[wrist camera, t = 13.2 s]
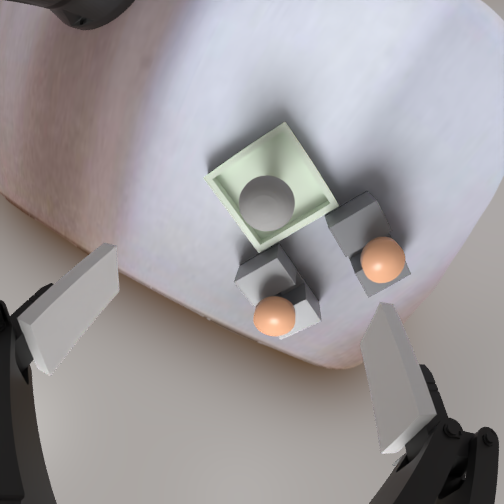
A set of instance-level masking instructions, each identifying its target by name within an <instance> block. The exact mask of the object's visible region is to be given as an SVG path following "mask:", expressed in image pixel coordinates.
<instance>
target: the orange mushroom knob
mask: <svg viewBox="0 0 504 504" xmlns="http://www.w3.org/2000/svg"><path fill="white" fill-rule="evenodd" d="M360 262H361V266H362V268H363V271H364V273H365V275H366V276H367V278H368V279H370V280H371V281H373V282H376V283H386V282H389V281H392V280H393V279H395V278H396V277H397V276H398V275H399V274H400V273H401V272H402V270H403V268H404V265H405V254H404V252H403V250H402V249H401V247H400V246H399V245H398V243H397V242H396V241H395V240H393V239H392V238H389V237H378V238H375V239H373V240H371V241H370V242H369V243H367V244H366V246H365V247H364V249H363V250H362V253H361V257H360Z"/></svg>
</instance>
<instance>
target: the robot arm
mask: <svg viewBox="0 0 504 504" xmlns="http://www.w3.org/2000/svg"><path fill="white" fill-rule="evenodd" d="M7 1H13V2H19V3H24V4H30V5H35V6H39V7H44V8H48V9H50V10H51V11H52V12H53V13H54V14H55V15H56V16H57V17H58V18H59V19H60V20H61V21H62V22H63V23H65V24H66V25H68V26H70V27H73V28H77V29H81V30H90V29H95V28H98V27H101V26H103V25H105V24H107V23H109V22H111V21H112V20H114V19H115V18H117V17H118V16H119V15H120V14H122V13H123V12H124V11H125V10H126V9H127V8H128V7H129V6H130V5H131V4H132V3H133V2H134V0H7ZM118 292H119V280H118V264H117V246H116V245H112V244H108V243H103V244H102V245H101V246H99V247H98V248H97V249H96V250H94V251H93V252H92V253H91V254H89V255H88V256H87V257H86V258H84V259H83V260H82V261H81V262H80V263H78V264H77V265H76V266H75V267H74V268H73V269H71V270H70V271H69V272H68V273H67V274H65V275H64V276H63V277H62V278H61V279H59V280H58V281H57V282H56V283H55V284H52V283H50V284H48V285H46V286H44V287H42V288H41V289H40V290H38V291H37V292H36V293H35V295H33V296H32V297H31V298H29V300H27V301H26V302H25V303H24V304H23V305H22V306H21V307H20V308H18V309H17V310H16V311H15V312H14V313H13V314H12V315H11V316H9V313H8V310H7V307H6V304H5V303H4V302H3V301H1V300H0V504H57V503H56V500H55V497H54V494H53V491H52V488H51V484H50V481H49V477H48V473H47V470H46V465H45V462H44V457H43V453H42V448H41V443H40V438H39V432H38V426H37V420H36V413H35V405H34V396H33V385H32V371H31V367H30V363H31V362H32V361H33V360H34V362H35V364H36V366H37V368H38V369H39V370H40V371H42V372H44V373H46V374H48V375H50V376H51V375H52V374H53V372H54V371H55V370H56V368H57V367H58V366H59V365H60V363H61V362H62V360H63V359H64V358H65V357H66V355H67V354H68V353H69V352H70V350H71V349H72V348H73V346H74V345H75V344H76V343H77V341H78V340H79V339H80V338H81V336H82V335H83V334H84V333H85V332H86V330H87V329H88V328H89V327H90V325H91V324H92V323H93V322H94V320H95V319H96V318H97V317H98V316H99V315H100V313H101V312H102V311H103V310H104V308H105V307H106V306H107V305H108V304H109V303H110V301H111V300H112V299H113V298H114V297H115V296H116V295H117V293H118ZM360 347H361V351H362V355H363V360H364V364H365V369H366V373H367V378H368V383H369V388H370V393H371V398H372V403H373V409H374V414H375V420H376V426H377V432H378V439H379V445H380V452H381V454H382V453H397V452H398V451H399V450H400V449H401V448H403V447H404V446H405V447H406V453H405V454H404V455H403V456H402V457H400V458H399V459H398V460H397V461H396V462H395V463H394V464H393V466H395V465H396V464H397V463H398V464H397V466H396V467H395V468H394V470H393V471H392V473H391V474H390V476H389V477H388V479H387V480H386V482H385V483H384V484H383V486H382V487H381V488H380V490H379V491H378V492H377V494H376V495H375V496H374V498H373V499H372V500H371V502H370V503H369V504H494V502H495V494H496V485H497V474H498V456H499V441H498V437H497V435H496V433H495V432H494V431H493V430H492V429H491V428H489V427H483V428H481V429H480V430H479V431H478V432H476V433H475V434H474V433H469V432H465V431H463V429H462V427H461V426H460V424H459V423H458V422H457V421H456V420H454V419H452V418H448V416H447V413H446V410H445V407H444V405H443V401H442V399H441V396H440V393H439V392H438V388H437V386H436V384H435V380H434V378H433V375H432V373H431V372H430V371H429V369H428V368H427V367H426V366H425V365H420V364H418V361H417V358H416V356H415V353H414V351H413V348H412V346H411V344H410V341H409V338H408V336H407V334H406V332H405V329H404V327H403V325H402V322H401V320H400V318H399V315H398V313H397V311H396V309H395V307H394V305H393V304H388V303H383V302H380V304H379V306H378V308H377V310H376V312H375V314H374V316H373V318H372V321H371V323H370V325H369V327H368V329H367V331H366V333H365V335H364V337H363V339H362V341H361V343H360ZM465 475H466V478H465Z"/></svg>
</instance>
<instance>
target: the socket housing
mask: <svg viewBox="0 0 504 504" xmlns="http://www.w3.org/2000/svg"><path fill="white" fill-rule="evenodd" d="M325 218H326V221H327V224H328V227H329V229H330V231H331V233H332V234H333V236H334V238H335V239H336V241H337V243H338V244H339V246H340V248H341V250H342V251H343V253H344V255H345V256H346V257H347V256H348V257H349V259H350V261H351V264H352V266H353V269H354V272H355V274H356V276H357V278H358V280H359V281H360V283H361V285H362V287H363V289H364V290H365V292H366V294H367V296H368V298H369V297H370V296H372V295H374V294H376V293H378V292H380V291H382V290H383V289H385V288H387V287H389V286H391V285H392V284H394V283H396V282H398V281H400V280H401V279H403V278H405V277H407V276H408V275H410V274H411V273H410V271H409V268H408V266H407V263H406V261H405V265H404V268H403V270H402V272H401V273H400V274H399V275H398V276H397V277H396V278H395V279H393V280H392V281H389V282H386V283H376V282H373V281H371V280H370V279H368V278H367V276H366V275H365V273H364V271H363V268H362V266H361V262H360V257H361V253H362V250H363V249H364V247H365V246H366V244H367V243H369V242H370V241H371V240H373V239H375V238H378V237H389V238H392V237H391V236H390V234H389V232H391V231H392V230H391V228H390V226H389V223H388V221H387V219H386V217H385V215H384V213H383V211H382V209H381V207H380V205H379V203H378V201H377V200H376V199H375V198H374V197H373V196H372V195H371V194H370V193H369V192H368V191H367V192H365V193H363V194H361V195H360V196H358V197H356V198H355V199H353V200H351V201H350V202H348V203H346V204H344V205H343V206H341V207H339V208H338V209H336V210H334V211H333V212H331V213H329V214H327V215H326V216H325ZM392 239H393V238H392ZM234 283H235V284H236V286H237V287H238V288H239V289H240V291H241V292H242V293H243V294H244V296H245V297H246V298H247V299H248V301H249V302H250V303H251V304H252V306H254V305H256V304H258V303H259V302H260V301H261V300H262V299H264V298H267V297H271V296H274V295H276V294H278V293H280V292H281V294H282V297H283V298H285V299H287V300H288V301H290V302H291V303H292V304H293V306H294V308H295V325H294V327H293V329H292V330H291V331H290V332H288V333H287V334H284V335H281V336H278V337H279V338H280V340H282V339H284V338H286V337H289V336H291V335H293V334H295V333H297V332H300V331H302V330H304V329H306V328H308V327H310V326H313V325H315V324H317V323H319V322H321V313H320V305H319V301H318V300H317V298H316V297H315V295H314V294H313V292H312V291H311V289H310V288H309V287H308V285H307V284H306V282H305V281H304V279H303V278H302V276H301V275H300V273H299V272H298V270H297V269H296V267H295V266H294V265H293V263H292V262H291V260H290V259H289V257H288V256H287V254H286V253H285V251H284V250H283V249H282V247H281V246H280V244H279V243H278V244H276V245H274V246H273V247H271V248H269V249H267V250H266V251H264V252H262V253H261V254H259V255H257V256H255V257H254V258H252V259H250V260H249V261H247V262H245V263H243V264H242V265H240V266H239V269H238V272H237V275H236V277H235V280H234Z"/></svg>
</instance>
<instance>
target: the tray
mask: <svg viewBox="0 0 504 504" xmlns="http://www.w3.org/2000/svg"><path fill="white" fill-rule="evenodd" d="M265 175H268V176H274V177H277V178H279V179H281V180H283V181H284V182H285V183H286V184H288V186H289V187H290V188H291V190H292V192H293V195H294V199H295V207H294V212H293V215H292V217H291V219H290V220H289V221H288V223H286V224H285V225H284V226H283V227H281V228H279V229H277V230H273V231H260V230H257V229H255V228H253V227H251V226H250V225H249V224H248V223H247V222H246V221H245V220H244V219H243V217H242V215H241V213H240V210H239V197H240V194H241V191H242V190H243V188H244V187H245V185H246V184H247V183H248V182H249V181H251V180H252V179H254V178H256V177H259V176H265ZM204 180H205V181H206V182H207V184H208V185H209V186H210V188H211V189H212V190H213V192H214V193H215V194H216V196H217V197H218V199H219V200H220V201H221V203H222V204H223V205H224V207H225V208H226V209H227V211H228V212H229V213H230V215H231V216H232V218H233V219H234V220H235V222H236V223H237V224H238V226H239V227H240V228H241V230H242V231H243V233H244V234H245V235H246V237H247V238H248V239H249V241H250V242H251V243H252V245H253V246H254V248H255V249H256V250H257V252H258V253H260V252H262V251H263V250H265V249H267V248H268V247H270V246H272V245H274V244H275V243H277V242H279V241H280V240H282V239H284V238H286V237H287V236H289V235H291V234H292V233H294V232H296V231H298V230H299V229H301V228H303V227H304V226H306V225H308V224H309V223H311V222H313V221H315V220H316V219H318V218H320V217H321V216H323V215H325V214H327V213H328V212H330V211H332V210H333V209H335V208H337V207H338V206H339V204H338V203H337V201H336V199H335V198H334V196H333V194H332V193H331V191H330V189H329V188H328V186H327V184H326V183H325V181H324V180H323V178H322V176H321V175H320V173H319V172H318V170H317V168H316V167H315V165H314V164H313V162H312V161H311V159H310V158H309V156H308V154H307V153H306V151H305V150H304V148H303V147H302V145H301V144H300V142H299V141H298V139H297V138H296V137H295V135H294V134H293V132H292V131H291V129H290V128H289V126H288V125H287V124H286V122H284V123H282V124H281V125H279V126H277V127H276V128H274V129H273V130H271V131H270V132H268V133H267V134H265V135H264V136H262V137H261V138H259V139H258V140H256V141H255V142H253V143H252V144H250V145H249V146H247V147H246V148H244V149H243V150H241V151H240V152H238V153H237V154H236V155H234V156H233V157H231V158H230V159H228V160H227V161H226V162H224V163H223V164H221V165H220V166H219V167H217V168H216V169H214V170H213V171H212V172H210V173H209V174H208V175H206V176H205V177H204Z"/></svg>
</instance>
